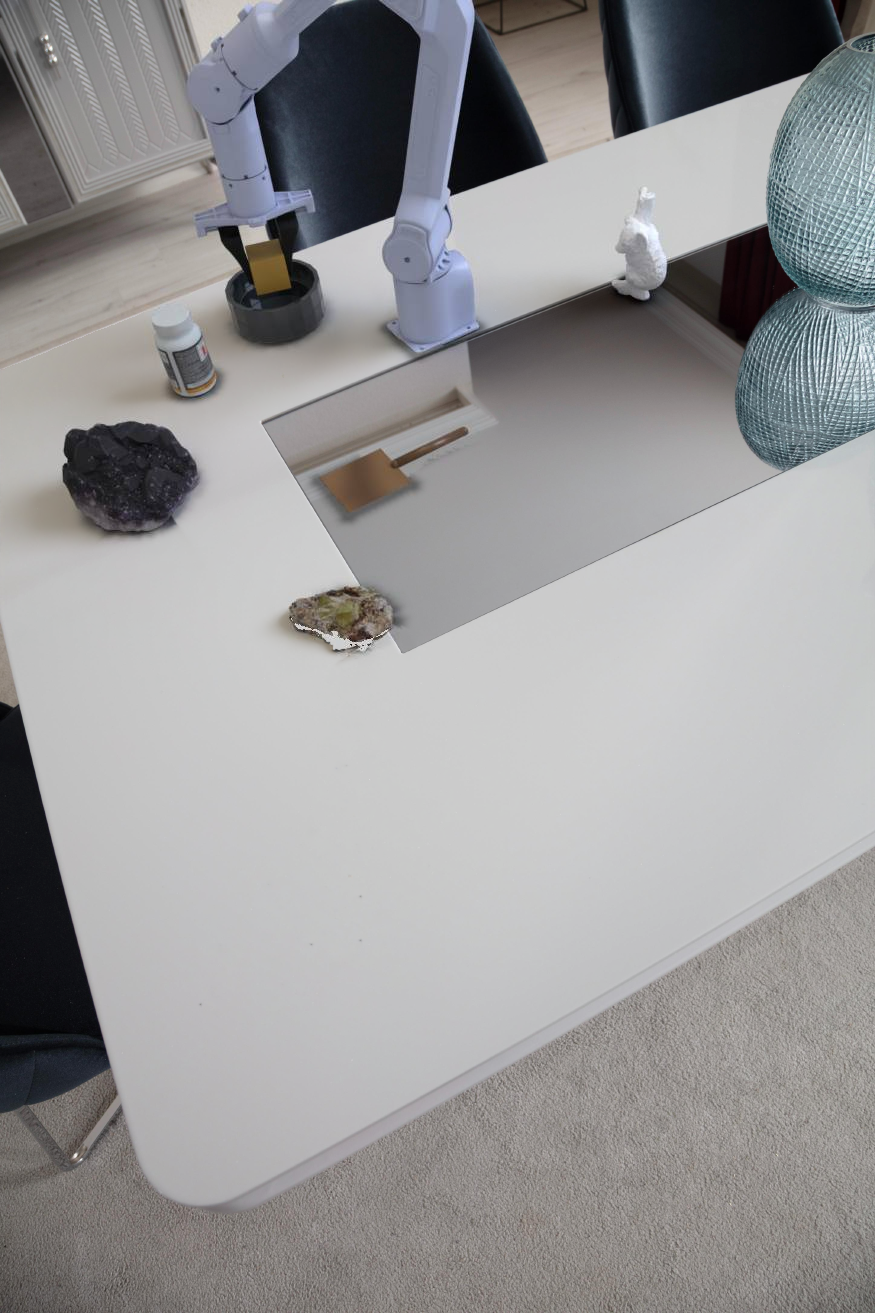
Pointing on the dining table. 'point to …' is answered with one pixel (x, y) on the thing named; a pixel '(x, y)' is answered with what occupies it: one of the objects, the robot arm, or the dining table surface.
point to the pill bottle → (183, 350)
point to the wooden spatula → (377, 473)
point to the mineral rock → (344, 613)
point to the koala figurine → (641, 251)
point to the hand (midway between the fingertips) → (269, 275)
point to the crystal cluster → (127, 474)
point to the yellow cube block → (268, 266)
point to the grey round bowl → (277, 306)
